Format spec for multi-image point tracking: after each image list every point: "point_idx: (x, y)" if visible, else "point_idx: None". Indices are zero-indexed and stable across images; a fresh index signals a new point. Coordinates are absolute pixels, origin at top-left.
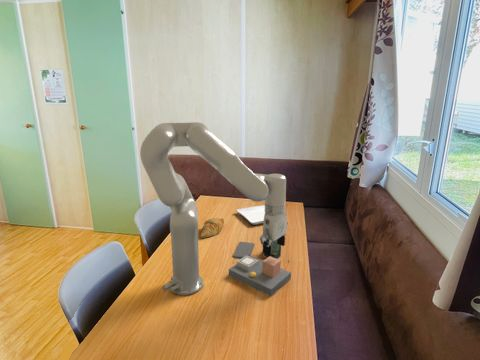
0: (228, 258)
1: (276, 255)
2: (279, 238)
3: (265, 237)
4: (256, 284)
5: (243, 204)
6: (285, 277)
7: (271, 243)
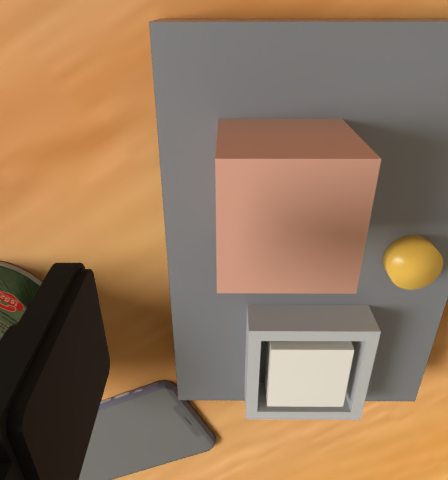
0: (243, 447)
1: (1, 283)
2: (69, 438)
3: None
4: None
5: None
6: (263, 21)
7: None
